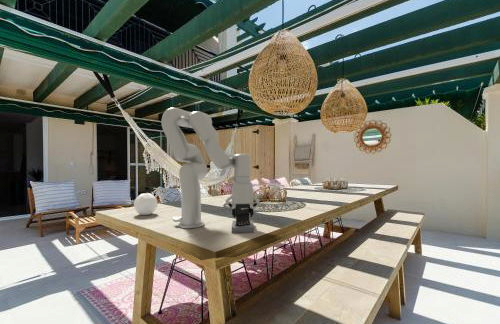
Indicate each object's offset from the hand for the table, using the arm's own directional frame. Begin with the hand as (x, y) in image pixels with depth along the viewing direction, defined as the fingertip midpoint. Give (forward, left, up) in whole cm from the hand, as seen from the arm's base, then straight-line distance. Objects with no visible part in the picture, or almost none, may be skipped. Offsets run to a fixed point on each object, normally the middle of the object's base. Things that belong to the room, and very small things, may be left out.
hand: (242, 216), depth 124 cm
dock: (0, 0, -6) cm, 6 cm away
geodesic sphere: (-59, +35, -6) cm, 69 cm away
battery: (0, 0, -5) cm, 5 cm away
